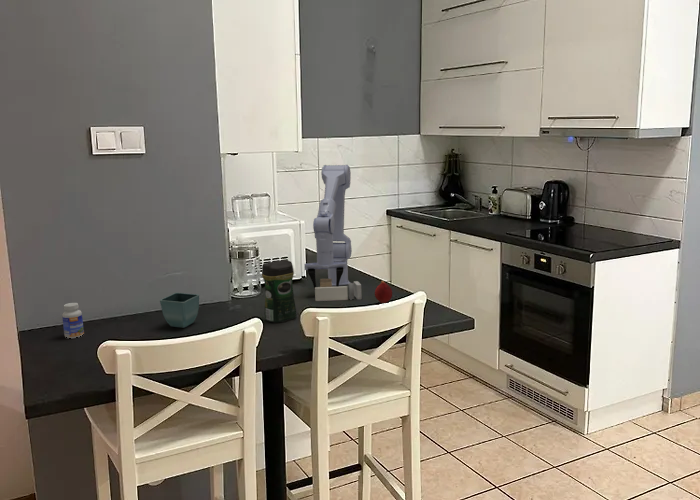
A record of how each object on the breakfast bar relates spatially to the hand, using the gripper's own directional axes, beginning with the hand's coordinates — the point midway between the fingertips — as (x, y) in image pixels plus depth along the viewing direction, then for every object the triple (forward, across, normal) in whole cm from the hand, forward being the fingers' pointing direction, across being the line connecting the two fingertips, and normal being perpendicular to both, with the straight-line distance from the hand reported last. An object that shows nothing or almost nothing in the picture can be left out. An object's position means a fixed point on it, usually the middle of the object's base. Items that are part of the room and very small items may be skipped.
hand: (326, 289), depth 230 cm
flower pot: (+3, -45, -27) cm, 52 cm away
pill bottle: (+3, -75, -34) cm, 82 cm away
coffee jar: (+3, -14, -25) cm, 29 cm away
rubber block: (+2, 0, 0) cm, 3 cm away
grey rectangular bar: (+2, +2, -5) cm, 6 cm away
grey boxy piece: (+2, +9, -4) cm, 10 cm away
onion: (+3, +19, -13) cm, 23 cm away
